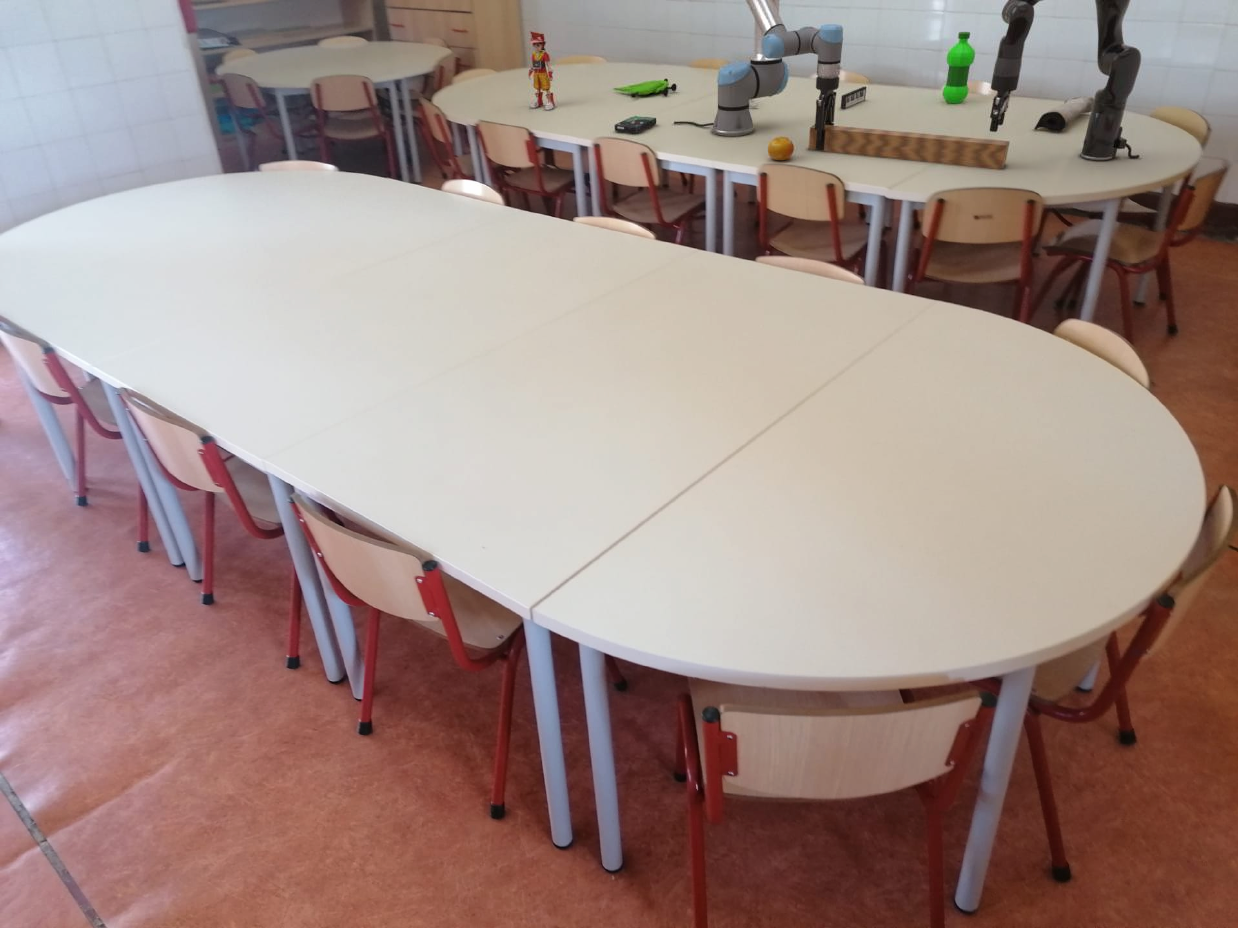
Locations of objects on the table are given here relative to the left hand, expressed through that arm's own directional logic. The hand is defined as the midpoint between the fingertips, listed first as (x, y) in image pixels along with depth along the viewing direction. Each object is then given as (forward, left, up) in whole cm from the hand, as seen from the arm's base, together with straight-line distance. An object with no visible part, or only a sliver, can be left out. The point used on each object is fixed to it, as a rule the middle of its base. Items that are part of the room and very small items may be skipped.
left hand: (822, 147), depth 312 cm
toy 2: (-104, +56, -1) cm, 118 cm away
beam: (+28, 0, -1) cm, 28 cm away
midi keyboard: (-10, +62, -1) cm, 63 cm away
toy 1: (-131, +18, -1) cm, 132 cm away
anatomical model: (-52, +47, -1) cm, 70 cm away
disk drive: (-76, +1, -1) cm, 76 cm away
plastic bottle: (+26, +78, -1) cm, 82 cm away
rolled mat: (+69, +60, -1) cm, 92 cm away
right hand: (+56, 0, +11) cm, 57 cm away
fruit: (-9, -17, -1) cm, 19 cm away
